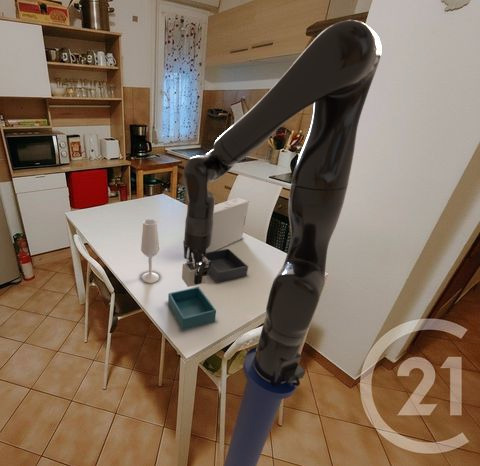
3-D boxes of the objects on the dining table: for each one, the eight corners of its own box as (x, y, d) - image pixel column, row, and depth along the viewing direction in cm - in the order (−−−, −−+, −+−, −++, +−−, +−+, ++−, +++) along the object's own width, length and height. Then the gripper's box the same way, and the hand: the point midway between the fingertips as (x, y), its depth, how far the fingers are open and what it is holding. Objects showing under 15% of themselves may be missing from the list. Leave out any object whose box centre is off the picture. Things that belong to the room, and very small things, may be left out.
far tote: (246, 275, 104) (248, 266, 102) (217, 282, 100) (218, 272, 98) (227, 257, 116) (228, 248, 114) (200, 262, 112) (201, 253, 110)
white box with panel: (205, 283, 80) (207, 267, 77) (187, 287, 78) (189, 271, 75) (199, 274, 83) (200, 259, 81) (181, 278, 82) (182, 263, 79)
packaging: (232, 233, 136) (238, 197, 127) (242, 238, 132) (249, 201, 122) (189, 252, 120) (192, 211, 110) (199, 258, 115) (203, 216, 106)
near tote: (214, 321, 83) (216, 310, 81) (182, 330, 80) (183, 319, 78) (197, 296, 93) (198, 286, 91) (168, 303, 90) (168, 293, 88)
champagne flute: (159, 272, 105) (160, 218, 94) (158, 283, 99) (158, 226, 88) (143, 271, 106) (142, 217, 95) (140, 282, 100) (138, 225, 89)
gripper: (176, 220, 77) (173, 267, 85) (197, 243, 65) (192, 296, 73) (199, 217, 79) (194, 263, 87) (224, 238, 67) (216, 290, 75)
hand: (194, 278), depth 80 cm, fingers closed on white box with panel, 4 cm apart
